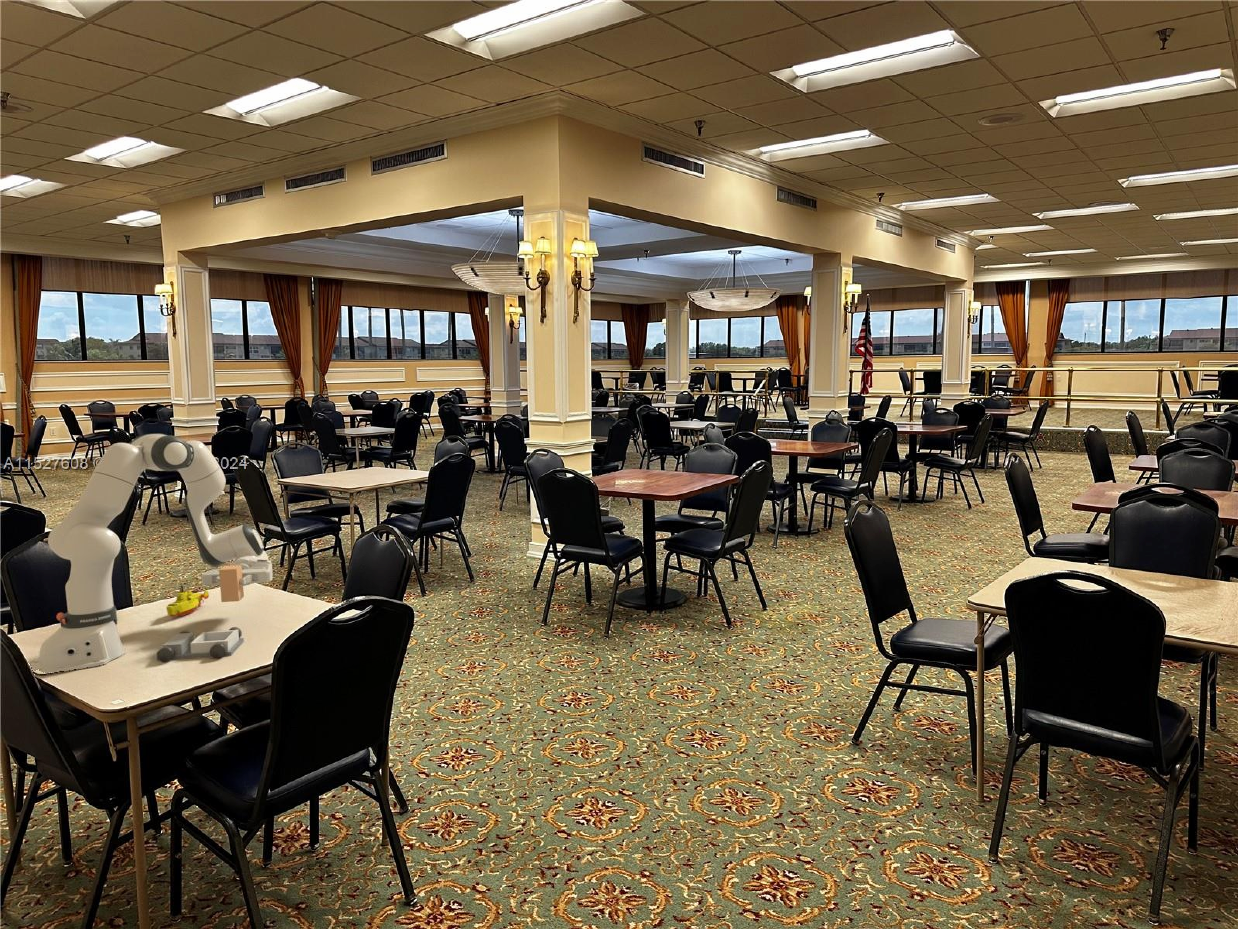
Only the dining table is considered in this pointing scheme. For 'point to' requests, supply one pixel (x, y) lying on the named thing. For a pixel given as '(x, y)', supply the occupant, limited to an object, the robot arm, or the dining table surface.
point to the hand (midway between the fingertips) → (230, 582)
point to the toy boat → (186, 602)
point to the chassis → (201, 645)
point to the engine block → (231, 583)
